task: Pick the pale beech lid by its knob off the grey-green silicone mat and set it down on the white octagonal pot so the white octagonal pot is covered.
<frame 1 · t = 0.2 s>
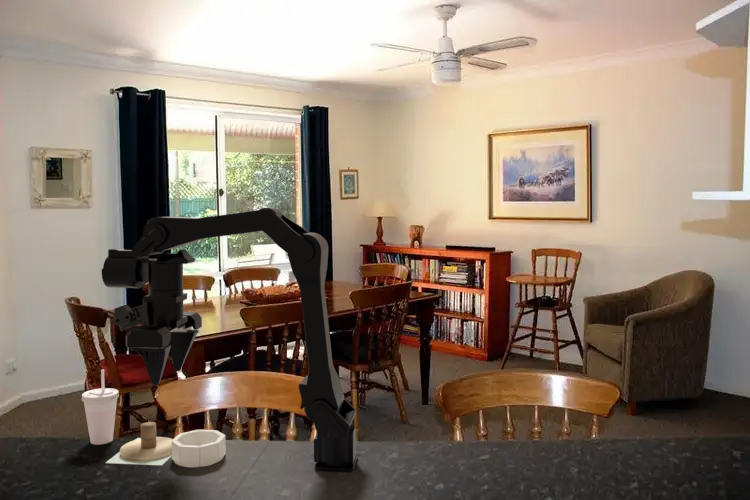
hand: (167, 377, 115), 14 cm above the countertop, fingers open, 9 cm apart
lid: (148, 450, 117), point 1 cm above the countertop, touching mat
white octagonal pot: (199, 460, 114), on the countertop
mat: (149, 454, 117), on the countertop
smoothie: (101, 444, 122), on the countertop
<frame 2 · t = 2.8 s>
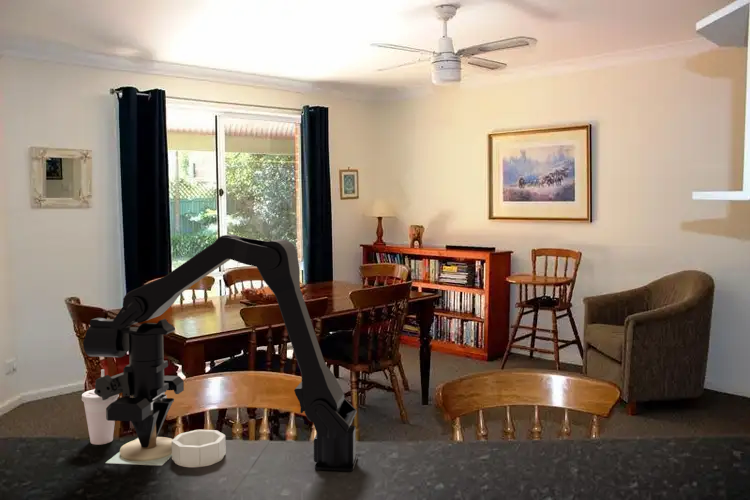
hand: (148, 444, 117), 2 cm above the countertop, fingers closed on lid, 3 cm apart
lid: (148, 450, 117), point 1 cm above the countertop, touching gripper, mat
everything else where it was.
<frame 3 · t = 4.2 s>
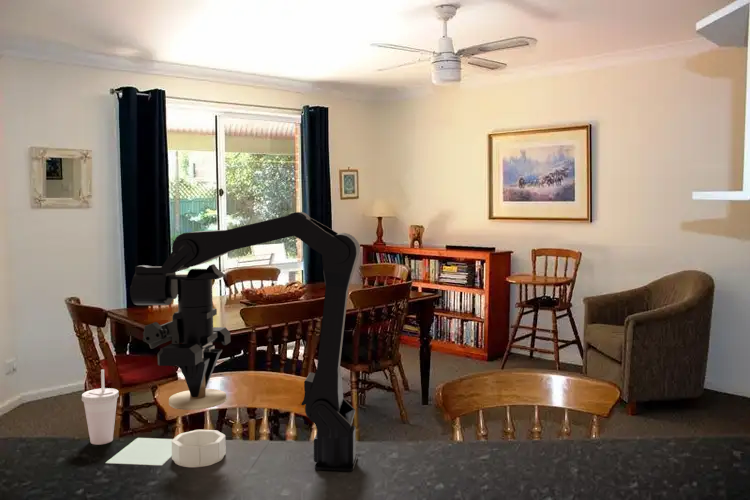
hand: (198, 394, 113), 12 cm above the countertop, fingers closed on lid, 3 cm apart
lid: (198, 401, 113), point 11 cm above the countertop, touching gripper
everything else where it was.
when the fingers open (6 cm above the countertop, at t = 5.8 s): lid stays where it is, resting on white octagonal pot.
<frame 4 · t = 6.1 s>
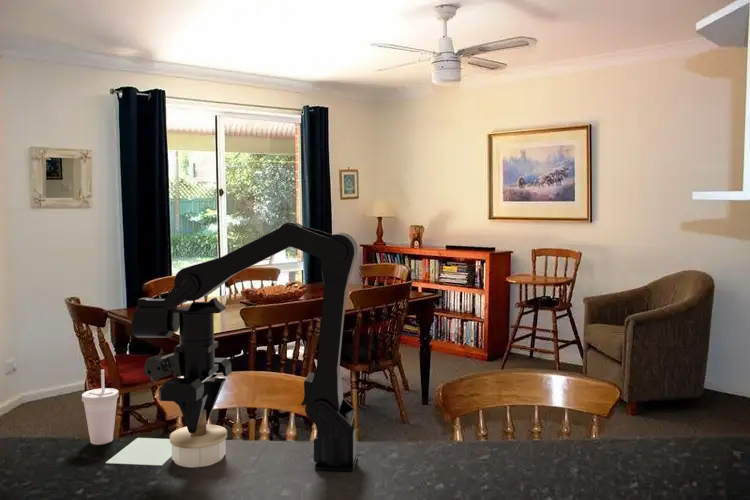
hand: (198, 426, 113), 6 cm above the countertop, fingers open, 6 cm apart
lid: (198, 438, 114), point 4 cm above the countertop, touching white octagonal pot
everything else where it was.
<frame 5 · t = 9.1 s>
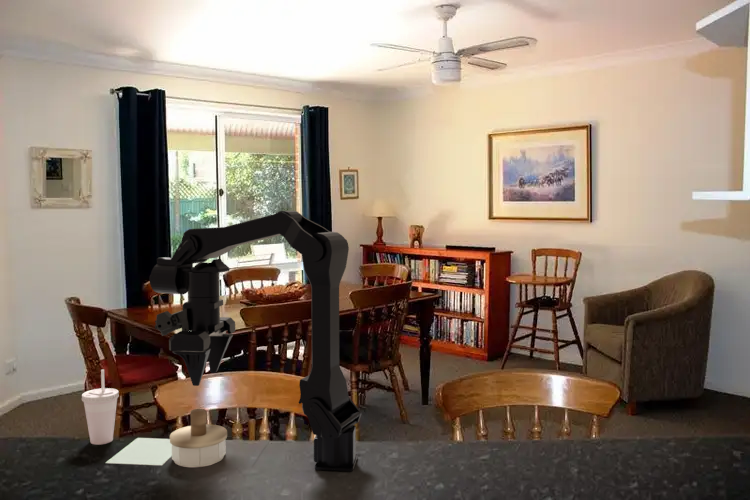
hand: (205, 378, 122), 12 cm above the countertop, fingers open, 9 cm apart
nothing on the countertop moved.
at the end: lid 0.0 cm off-centre on the white octagonal pot, point 4.0 cm above the white octagonal pot's base; lid tilted 0°; the gripper is holding nothing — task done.
